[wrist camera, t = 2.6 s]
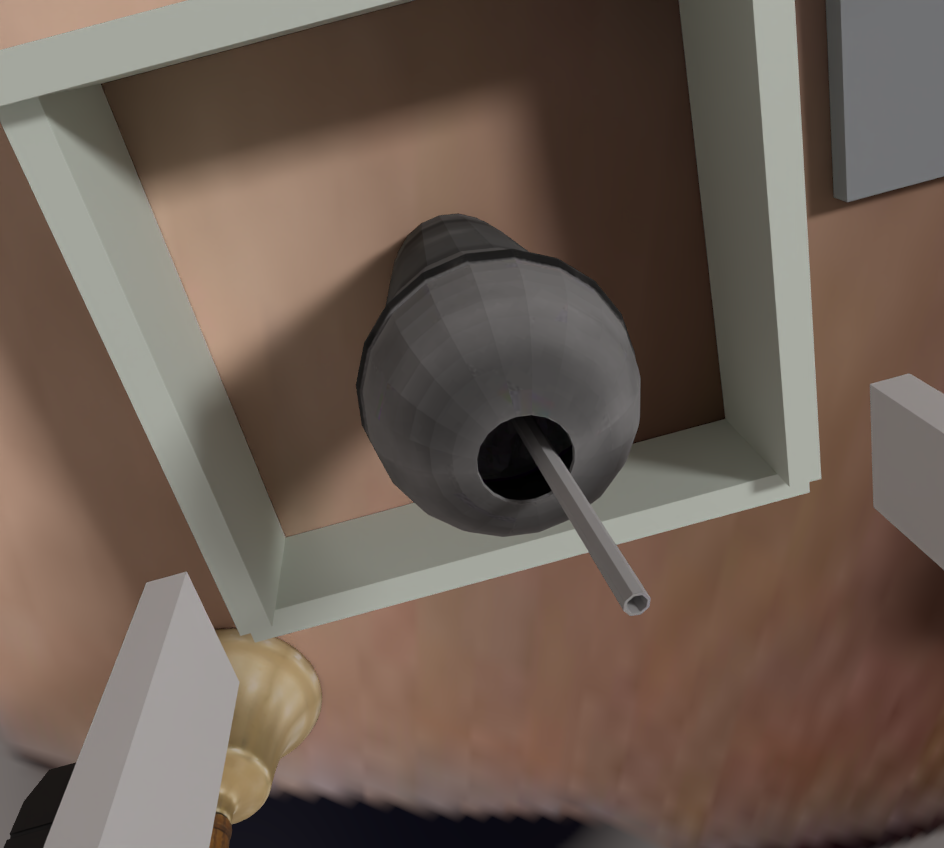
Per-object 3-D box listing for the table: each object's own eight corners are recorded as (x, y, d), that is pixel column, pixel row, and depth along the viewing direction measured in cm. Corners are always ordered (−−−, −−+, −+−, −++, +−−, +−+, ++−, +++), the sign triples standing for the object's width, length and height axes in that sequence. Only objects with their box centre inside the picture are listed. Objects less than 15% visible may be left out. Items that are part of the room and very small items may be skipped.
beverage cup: (397, 142, 30) (455, 316, 12) (579, 218, 31) (869, 467, 14) (330, 327, 32) (294, 702, 14) (502, 386, 34) (661, 783, 16)
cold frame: (49, 54, 27) (-46, 61, 21) (701, -119, 27) (803, -164, 21) (267, 567, 36) (248, 679, 30) (754, 435, 36) (836, 519, 30)
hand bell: (257, 598, 37) (192, 956, 23) (354, 715, 41) (351, 1089, 26) (101, 679, 38) (-57, 1073, 24) (210, 787, 41) (131, 1187, 27)
